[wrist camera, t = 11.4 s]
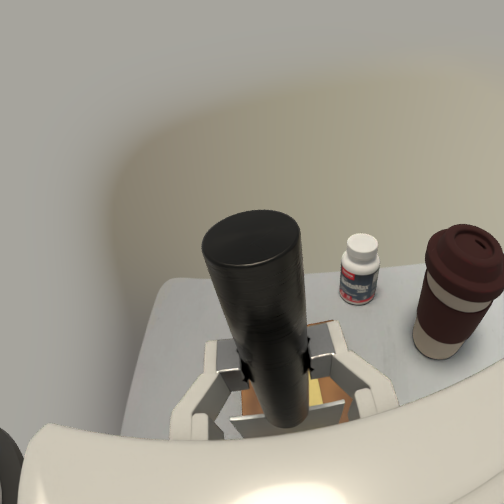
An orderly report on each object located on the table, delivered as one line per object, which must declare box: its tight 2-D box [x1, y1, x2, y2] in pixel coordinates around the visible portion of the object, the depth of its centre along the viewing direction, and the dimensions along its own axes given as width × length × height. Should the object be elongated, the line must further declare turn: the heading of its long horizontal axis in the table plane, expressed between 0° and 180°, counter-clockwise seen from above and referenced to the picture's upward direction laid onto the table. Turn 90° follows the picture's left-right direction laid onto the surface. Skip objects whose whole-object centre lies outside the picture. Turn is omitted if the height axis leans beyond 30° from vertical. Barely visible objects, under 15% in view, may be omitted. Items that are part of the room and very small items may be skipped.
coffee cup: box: [413, 224, 504, 359], centre depth 25 cm, size 10×10×15 cm
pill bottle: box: [340, 233, 380, 305], centre depth 36 cm, size 5×5×9 cm
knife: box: [202, 210, 345, 439], centre depth 12 cm, size 7×3×17 cm, turn 93°
